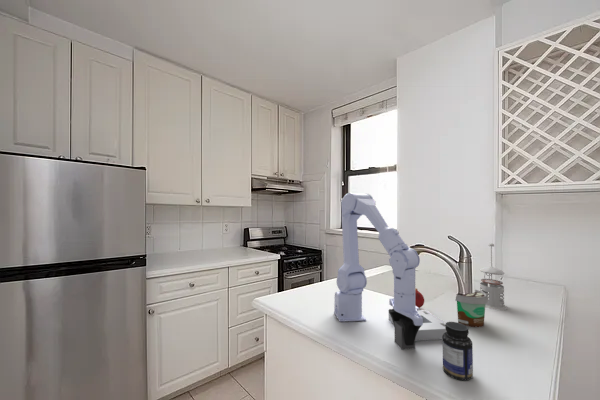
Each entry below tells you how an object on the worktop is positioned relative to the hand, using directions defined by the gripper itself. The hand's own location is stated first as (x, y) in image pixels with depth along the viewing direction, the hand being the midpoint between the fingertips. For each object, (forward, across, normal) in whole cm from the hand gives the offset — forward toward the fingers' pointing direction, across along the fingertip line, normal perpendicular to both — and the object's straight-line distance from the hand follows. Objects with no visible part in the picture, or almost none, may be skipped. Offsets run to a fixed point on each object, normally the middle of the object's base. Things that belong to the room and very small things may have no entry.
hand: (404, 340), depth 73 cm
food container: (+2, +10, -31) cm, 33 cm away
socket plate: (+1, +9, -10) cm, 14 cm away
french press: (+2, +26, -52) cm, 58 cm away
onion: (+2, +24, -18) cm, 30 cm away
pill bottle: (+2, -13, -6) cm, 14 cm away
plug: (+2, 0, 0) cm, 2 cm away
